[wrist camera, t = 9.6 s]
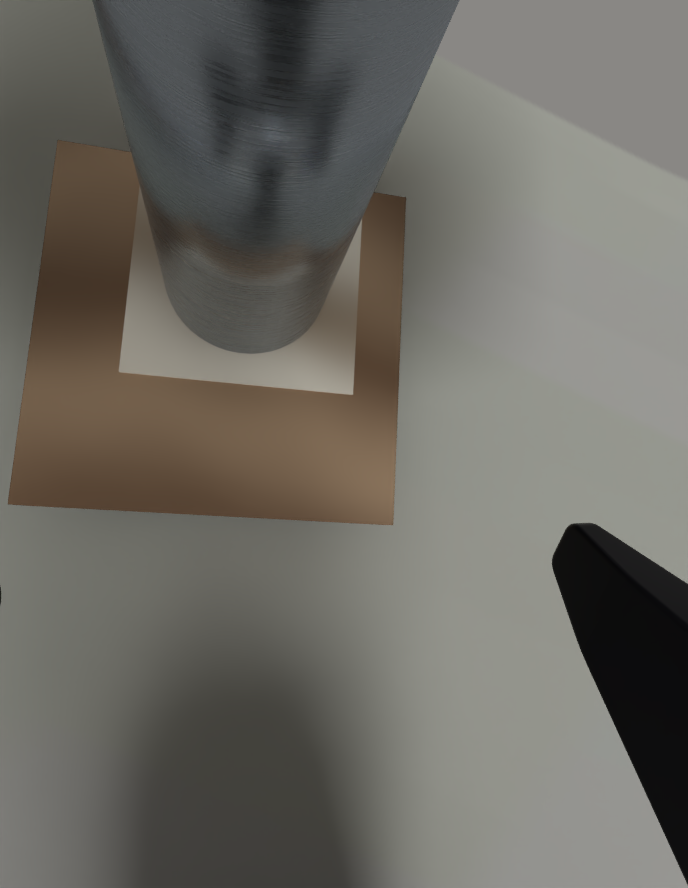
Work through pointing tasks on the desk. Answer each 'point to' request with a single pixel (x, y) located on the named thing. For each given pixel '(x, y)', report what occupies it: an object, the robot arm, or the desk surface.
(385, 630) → the desk surface
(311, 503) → the frame
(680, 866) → the robot arm
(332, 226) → the canister
